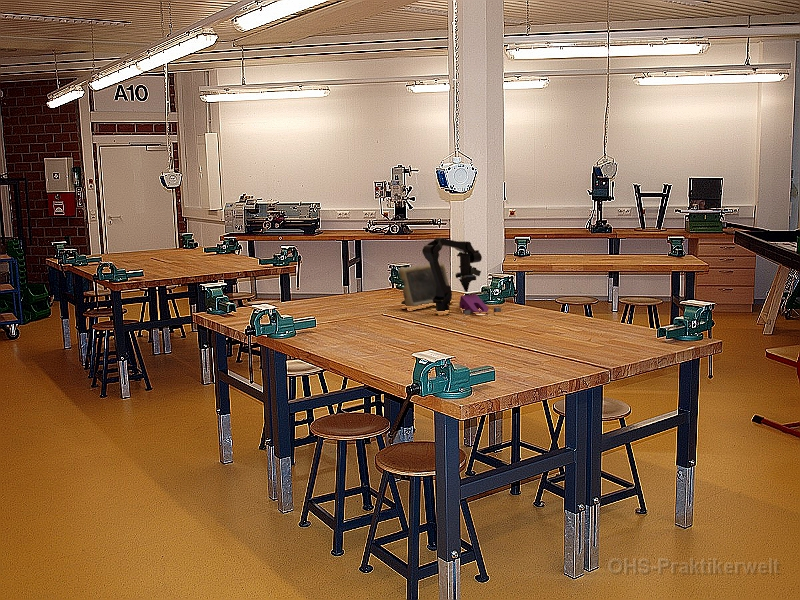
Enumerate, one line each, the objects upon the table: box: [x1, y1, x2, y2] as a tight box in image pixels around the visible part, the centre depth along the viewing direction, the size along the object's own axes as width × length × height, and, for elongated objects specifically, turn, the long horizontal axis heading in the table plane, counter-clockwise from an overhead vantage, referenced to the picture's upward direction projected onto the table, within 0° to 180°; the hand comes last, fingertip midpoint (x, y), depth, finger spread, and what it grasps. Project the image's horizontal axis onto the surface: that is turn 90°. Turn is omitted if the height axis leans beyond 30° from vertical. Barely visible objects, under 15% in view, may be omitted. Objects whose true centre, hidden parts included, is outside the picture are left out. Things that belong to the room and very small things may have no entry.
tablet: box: [397, 261, 453, 306], centre depth 472 cm, size 33×14×25 cm, turn 133°
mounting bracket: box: [459, 293, 489, 313], centre depth 445 cm, size 10×8×18 cm
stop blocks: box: [462, 306, 502, 315], centre depth 434 cm, size 20×3×4 cm, turn 104°
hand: (466, 291), depth 456 cm, fingers closed
